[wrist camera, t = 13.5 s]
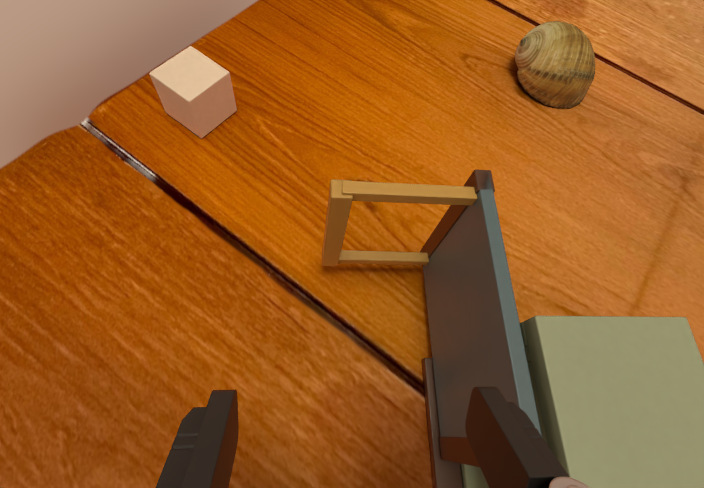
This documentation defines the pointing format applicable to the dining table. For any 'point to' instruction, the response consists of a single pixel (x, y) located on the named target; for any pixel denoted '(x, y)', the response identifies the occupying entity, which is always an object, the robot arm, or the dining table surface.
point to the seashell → (556, 64)
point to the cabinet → (605, 402)
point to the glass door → (453, 295)
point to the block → (195, 91)
